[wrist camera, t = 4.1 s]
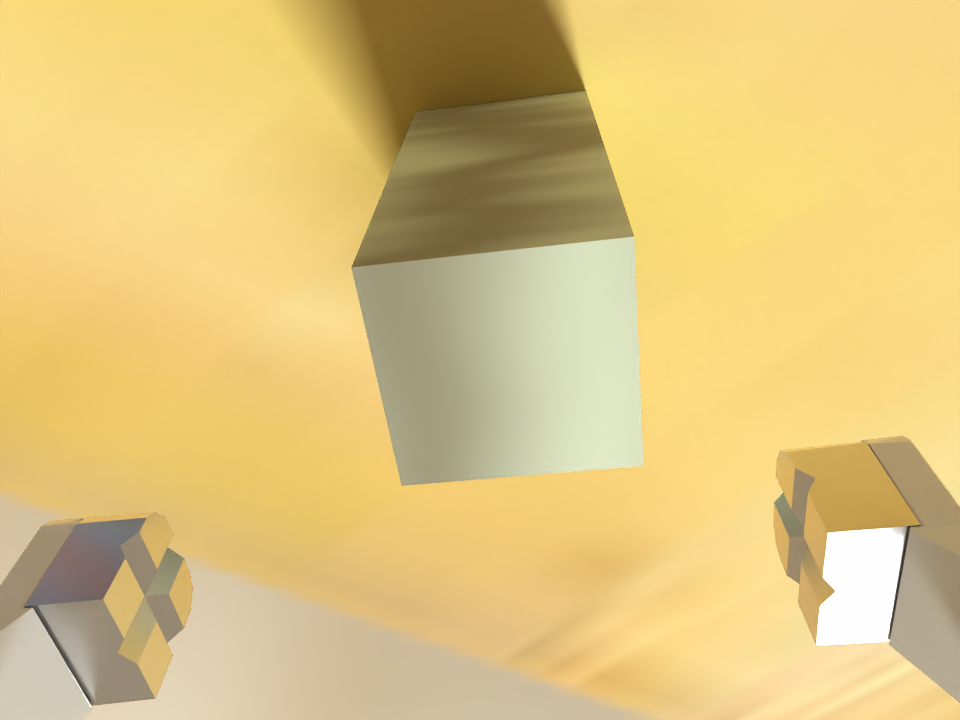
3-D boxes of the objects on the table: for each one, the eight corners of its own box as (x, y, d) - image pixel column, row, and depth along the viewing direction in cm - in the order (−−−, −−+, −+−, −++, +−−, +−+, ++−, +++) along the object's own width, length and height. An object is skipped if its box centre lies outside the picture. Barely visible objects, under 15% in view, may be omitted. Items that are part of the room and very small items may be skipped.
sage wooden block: (585, 90, 21) (634, 236, 13) (596, 250, 24) (643, 465, 15) (415, 111, 22) (351, 267, 13) (442, 266, 24) (401, 485, 15)
